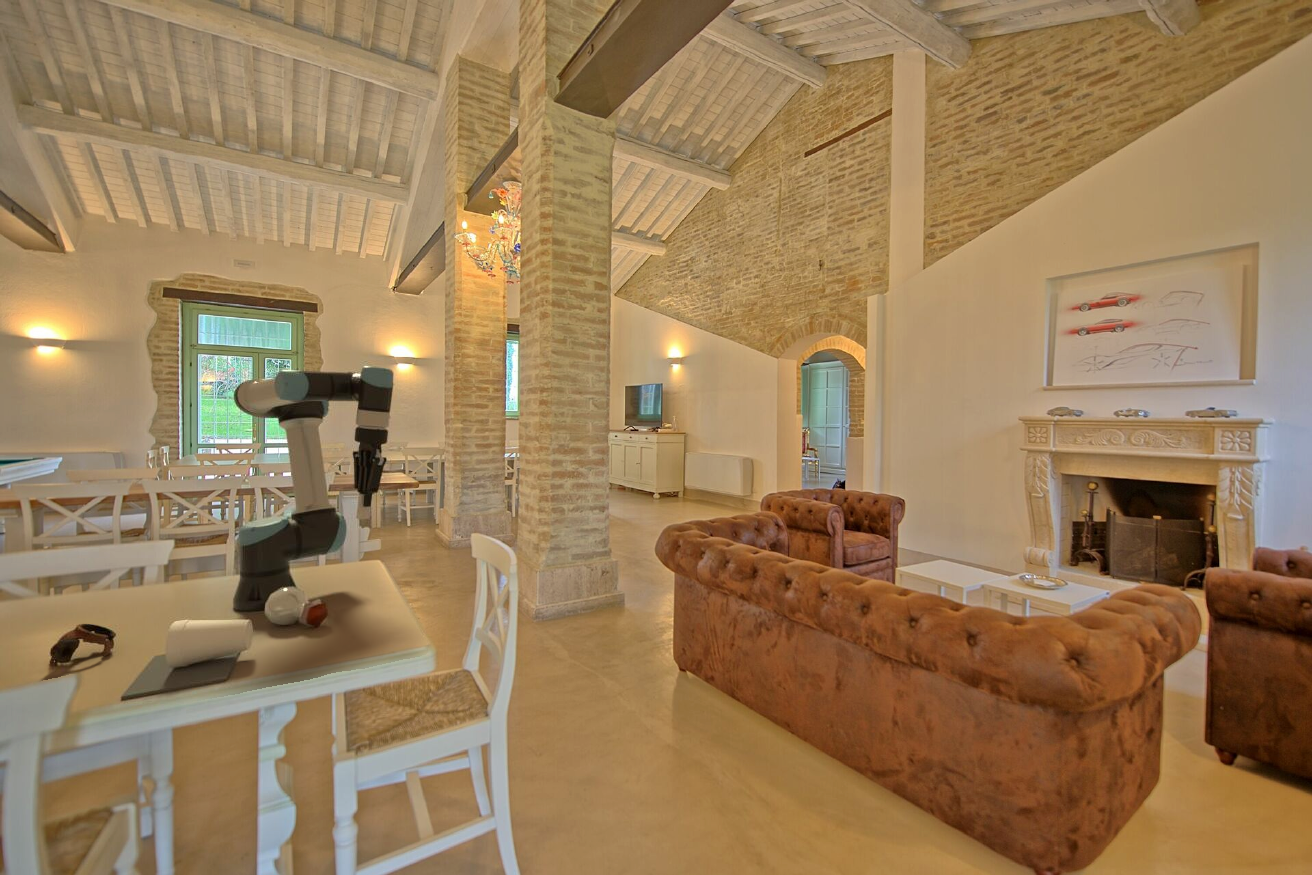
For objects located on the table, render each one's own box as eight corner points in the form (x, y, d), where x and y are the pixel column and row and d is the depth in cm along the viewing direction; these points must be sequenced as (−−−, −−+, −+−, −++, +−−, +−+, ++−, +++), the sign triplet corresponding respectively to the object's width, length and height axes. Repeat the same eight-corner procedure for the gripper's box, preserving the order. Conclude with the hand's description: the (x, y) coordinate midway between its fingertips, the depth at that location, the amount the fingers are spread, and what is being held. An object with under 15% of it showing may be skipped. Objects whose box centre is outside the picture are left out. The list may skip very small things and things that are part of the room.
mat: (244, 644, 132) (244, 641, 132) (226, 680, 114) (226, 677, 114) (154, 658, 124) (154, 655, 124) (121, 699, 107) (120, 696, 107)
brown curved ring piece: (64, 655, 128) (88, 619, 130) (107, 670, 129) (131, 635, 132) (21, 663, 116) (49, 624, 119) (69, 680, 118) (96, 641, 120)
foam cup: (245, 609, 122) (168, 618, 117) (241, 655, 119) (162, 666, 113) (255, 615, 130) (184, 624, 125) (252, 658, 127) (179, 669, 121)
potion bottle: (275, 624, 148) (321, 637, 143) (246, 614, 140) (294, 627, 135) (295, 590, 152) (340, 602, 148) (269, 578, 144) (315, 590, 140)
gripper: (399, 431, 145) (390, 522, 146) (374, 425, 152) (365, 512, 153) (370, 429, 139) (360, 524, 139) (345, 423, 146) (336, 514, 147)
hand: (363, 518), depth 146 cm, fingers closed
